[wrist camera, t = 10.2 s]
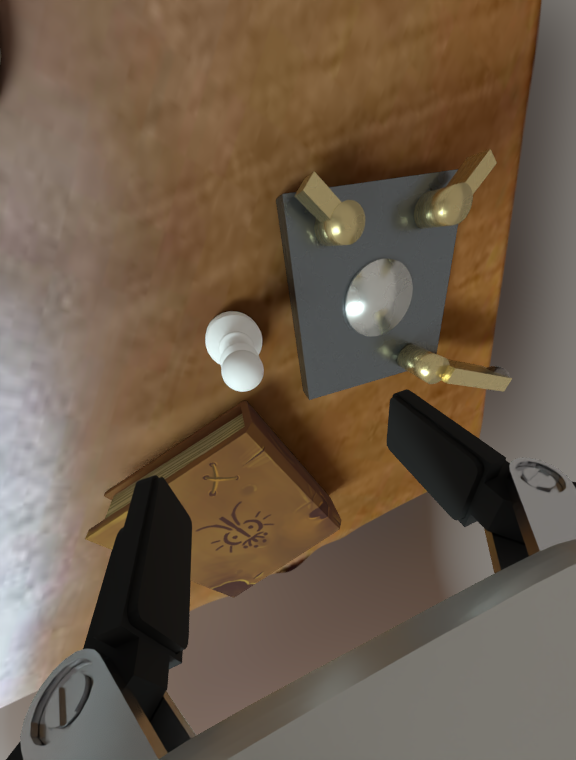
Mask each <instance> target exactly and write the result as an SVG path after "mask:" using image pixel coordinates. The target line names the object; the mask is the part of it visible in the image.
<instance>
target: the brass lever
mask: <svg viewBox="0 0 576 760" xmlns="http://www.w3.org/2000/svg"><path fill="white" fill-rule="evenodd" d="M398 364H399V366H400V367H402V368H403V369H405V370H407V371H409V372H410V373H412V374H414V375H415V376H417V377H419V378H420V379H422V380H424V381H425V382H427V383H429V384H434V383H437V382H439V381H440V380H442V381H444V382H446V383H449V384H456V385H463V386H470V387H477V388H484V389H488V390H497V391H504V390H505V389H506V387H507V386H508V384H509V383H510V381H511V380H512V378H510V375H509V373H508V372H507V371H506V370H505V369H504V368H501V367H497V366H491V367H487V368H486V367H483V366H480V365H475V364H470V363H465V362H460V361H455V360H450V359H446V358H444V357H442V356H439V355H437V354H435V353H433V352H430V351H428V350H426V349H424V348H421V347H419V346H417V345H414V344H411V345H408V346H406V347H404V348H403V349H402V350H401V352H400V353H399V356H398Z"/></svg>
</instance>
